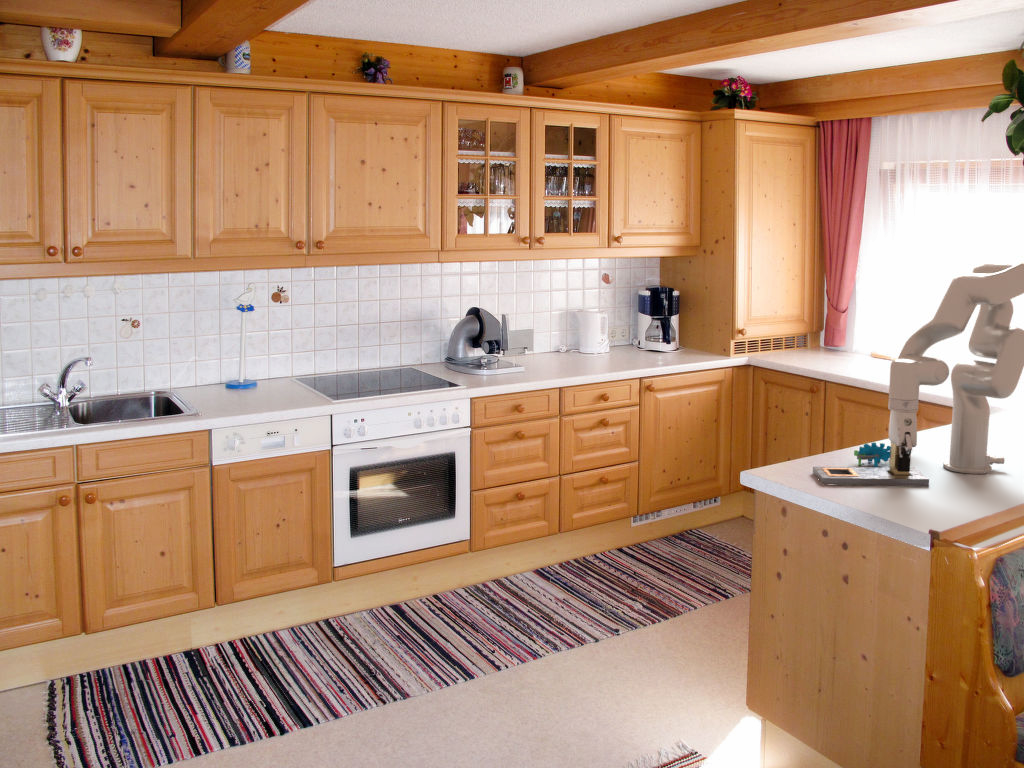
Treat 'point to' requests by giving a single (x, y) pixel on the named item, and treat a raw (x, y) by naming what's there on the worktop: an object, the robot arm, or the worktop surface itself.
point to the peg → (895, 461)
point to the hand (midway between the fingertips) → (899, 467)
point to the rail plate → (868, 476)
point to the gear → (873, 453)
